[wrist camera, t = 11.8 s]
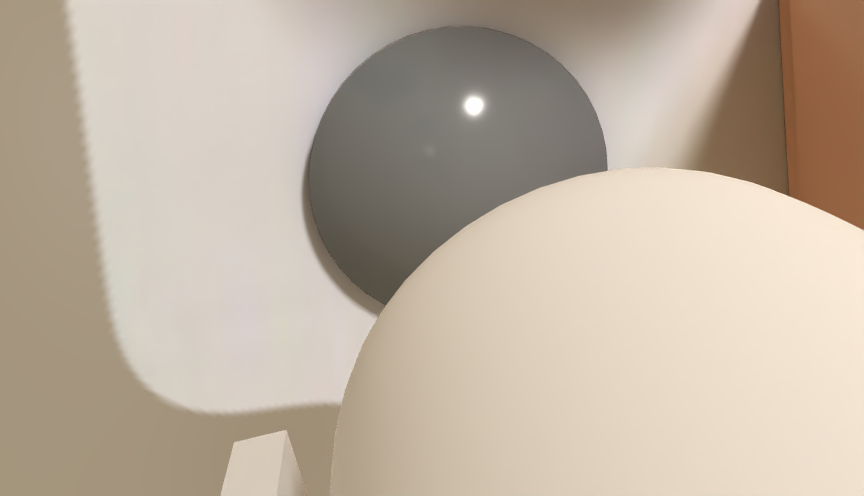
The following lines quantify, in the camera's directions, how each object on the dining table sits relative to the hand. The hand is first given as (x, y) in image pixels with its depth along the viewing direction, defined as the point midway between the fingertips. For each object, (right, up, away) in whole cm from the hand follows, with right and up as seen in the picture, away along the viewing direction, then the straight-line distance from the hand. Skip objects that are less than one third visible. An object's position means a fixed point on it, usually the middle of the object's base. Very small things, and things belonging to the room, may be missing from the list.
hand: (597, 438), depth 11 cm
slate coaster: (-2, +5, +15) cm, 16 cm away
